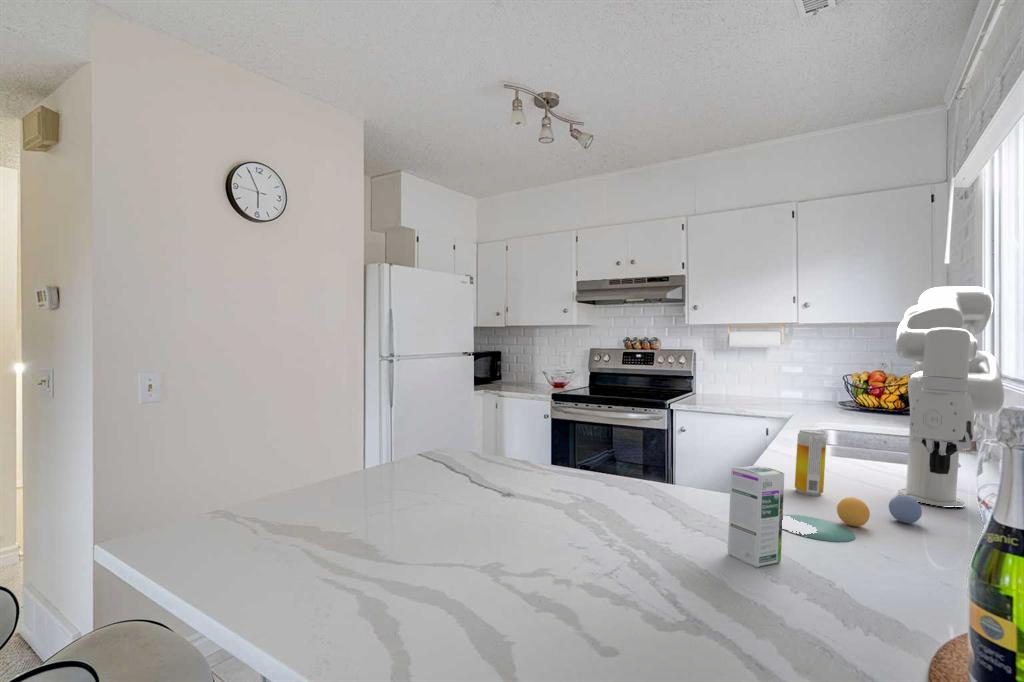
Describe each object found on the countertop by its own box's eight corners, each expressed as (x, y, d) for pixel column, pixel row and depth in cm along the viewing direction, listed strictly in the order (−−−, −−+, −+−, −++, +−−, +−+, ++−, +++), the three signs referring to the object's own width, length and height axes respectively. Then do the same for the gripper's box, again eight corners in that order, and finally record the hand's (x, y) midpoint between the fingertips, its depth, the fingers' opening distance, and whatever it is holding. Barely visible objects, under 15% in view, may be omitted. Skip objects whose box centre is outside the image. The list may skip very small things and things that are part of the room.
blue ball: (886, 516, 112) (887, 490, 112) (918, 521, 110) (919, 495, 110) (890, 523, 107) (891, 496, 107) (923, 529, 105) (925, 501, 105)
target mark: (773, 511, 111) (773, 510, 111) (851, 525, 104) (851, 524, 104) (770, 530, 99) (770, 529, 99) (859, 548, 92) (859, 547, 92)
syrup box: (757, 568, 81) (762, 474, 81) (725, 553, 86) (731, 465, 86) (781, 563, 83) (786, 472, 83) (749, 549, 89) (754, 463, 89)
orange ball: (835, 518, 108) (836, 492, 108) (867, 524, 106) (868, 497, 106) (837, 526, 103) (838, 498, 103) (870, 532, 101) (872, 504, 101)
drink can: (815, 490, 131) (819, 430, 131) (827, 497, 125) (831, 434, 125) (790, 488, 131) (793, 428, 131) (801, 495, 125) (804, 432, 125)
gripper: (896, 382, 117) (891, 464, 117) (971, 388, 103) (966, 482, 102) (920, 384, 119) (915, 465, 119) (997, 390, 105) (992, 482, 104)
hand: (939, 473), depth 110 cm, fingers closed
